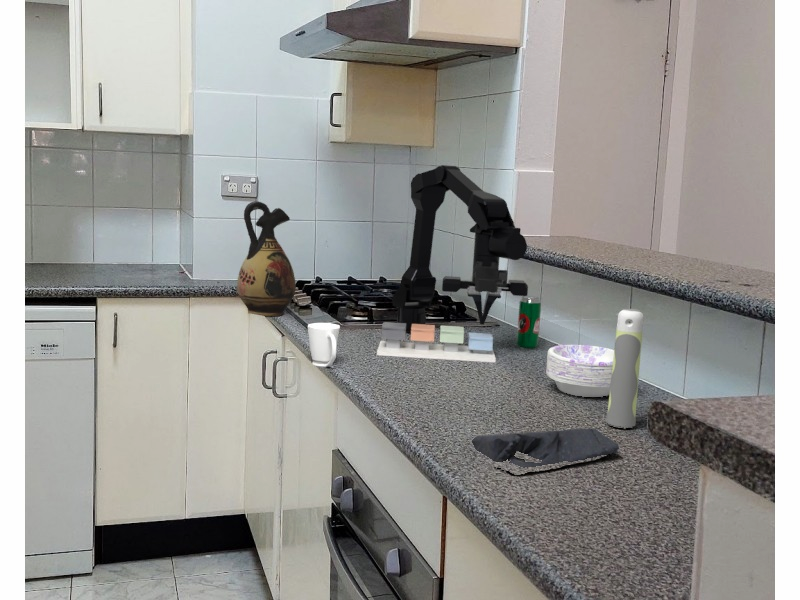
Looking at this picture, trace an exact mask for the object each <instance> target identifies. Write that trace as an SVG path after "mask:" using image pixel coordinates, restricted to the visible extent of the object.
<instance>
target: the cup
mask: <svg viewBox="0 0 800 600" xmlns="http://www.w3.org/2000/svg"><path fill="white" fill-rule="evenodd" d="M340 327H341V325H339V324H335V323H332V322H331V323H329V322H314V323H308V324H307V331H308V341H309V342H308V343H309V350H310V355H311V359H312V365H313V366H316V367H325V368H327V367H328V368H329V367H331V366H333V364H334V362H335V360H336V357H337V344H338V338H339V332H340Z"/></svg>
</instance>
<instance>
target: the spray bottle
mask: <svg viewBox="0 0 800 600" xmlns="http://www.w3.org/2000/svg"><path fill="white" fill-rule="evenodd" d="M644 318H645V317H644V314H643V312H642V311H641V310H639V309H636V308H623V309H621V311H619V312H618V315H617V321H616V322H617V325H616V330H615V339H614V340H615V341H614V349H613V350H614V357H613V367H612V376H611V383H610V395H608V396H609V397H608V406H607V413H606V417H605V423H606V422H607V423H608V424H611V425H614V426H621V427H632V426H635V427H636V423H637V414H636V412H637V404H638V403H637V402H638V400H637V399H638V388H639V378H640V377H639V376H640V365H641V356H642V355H641V353H642V342H643V330H644ZM607 423H606V424H607ZM608 424H607V425H608Z"/></svg>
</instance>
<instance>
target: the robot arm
mask: <svg viewBox="0 0 800 600" xmlns="http://www.w3.org/2000/svg"><path fill="white" fill-rule="evenodd" d="M410 182H411V183H410V199H411V201H412V203H413V205H414V207H415V217H414V225H413V232H412V233H413V235H412V241H411V242H412V243H411V249H410V250H411V251H410V260H409V266H408V268H407V269H406V271H405V272H404V273H403V275H402V277H401V280H400V284H399V285H400V286H399V287H398V288H397V289H396V291H395V293H394V294H393V296H392V298H391V300H392V301H391V302H392V306H393V307H395V308H397V317H396V318H397V320H396V321H397V322H396V323H406V334H407V333H408V334H411V327H412V324H425V325H427V324H426V323H427V322H426V321H427V320H426V319H427V314H426V308H431V306H432V302H433V298H434V295H435V294H436V283H437V278H436V276H433V273H432V272H431V269H430V266H431V257H432V250H433V240H434V233H435V225H436V216H437V212H438V210H439V209H440V207H441V205H443V203H444V202H445V197H446V194H447V192H449V191H451V192H452V194H454V195H455V196H456V197H457V198H458V199H460V200H461V201H462V202H463V203H464V204H465V205H466V207H467V213H468V215H469V216H470V217H471V218H470V219H472V220H473V222H474V223H475V224H474V225H473V226H472V227H471V228H470V229H469V232H470V233H473V234H474V242H473V243H474V244H473V261H472V276H471V280H461V279H462V278H461V276H449V275H445V276H443V278H442V285H441V286H442V287H441V291H442V292H446V293H448V292H449V293H450V292H451V293H457V292H459V290H467V292H466V293H467V297H470V298H472V299H473V302H474V304H475V308H476V312H477V315H478V320H479V324H480V325H485V322H486V320H487V317H488V316H489V312H490V310H491V308H492V307H493V304H494V303H495V301H496V300H497V299H501V298H502V292H510V293H511V295H513V296H517V297H519V296H520V297H522V296H528V291H529V285H528V284H527V282H526V281H525V280H521V279H520V280H519V279H508V270H507V269H500V259H501V258H502V259H507V260H513V261H518V260H521V259H522V258H523V257H524V256H525V255H526V252H527V249H528V243H527V241H526V238H525V236H524V235H522V234H521V228H520V227H516V226H515V222H514V220H513V218H512V216H511V213H510V211H509V207H508V204H507V201H506V200H505V199H504V198H502V197H500V196H498V195H496V194H493V193H490V192H486V191H485V190H483V189H482V188H481V187H480V186H478V185H477V184H476V182H473V180H471V179H470V178H469V177H468V176H466V174H464V173H463V171H461V169H460V167H458V166H457V165H447V164H445V165H444V164H442V165H439V166H437V167H435V168H433V169H431V170H427V171H423V172H421V173H417V174H416V175H415V176H414V177H412V179H411V181H410ZM482 292H486V295H485V299H484V300H485V301H484V305H483V303H482V302H483V301H482ZM482 306H483V307H482Z"/></svg>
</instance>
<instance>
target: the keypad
mask: <svg viewBox="0 0 800 600" xmlns="http://www.w3.org/2000/svg"><path fill="white" fill-rule="evenodd" d="M443 343H444V344H439V343H430V341H415V342H404V341H401V340H397V339H386V340H380V342H379V344H378V347H377V350H376V356H384V357H398V358H399V357H400V358H416V359H418V358H419V359H431V360H432V359H435V360H447V361H449V360H450V361H463V362H482V363H496V361H497V358H496V355H495V352H494V349H493V348H494V347H492V351H488V350H472V349H469V348H468V345H459V343H447V342H443Z"/></svg>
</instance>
